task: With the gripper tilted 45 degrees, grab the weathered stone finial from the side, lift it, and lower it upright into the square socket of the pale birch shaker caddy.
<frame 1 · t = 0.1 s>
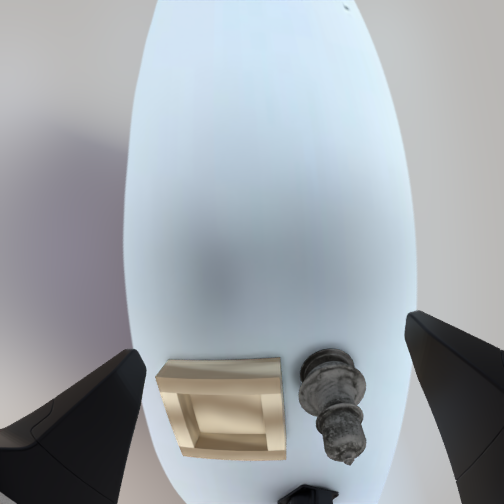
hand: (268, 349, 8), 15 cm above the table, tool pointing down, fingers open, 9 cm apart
weathered stone finial: (327, 371, 25), on the table
shaker caddy: (230, 404, 26), on the table
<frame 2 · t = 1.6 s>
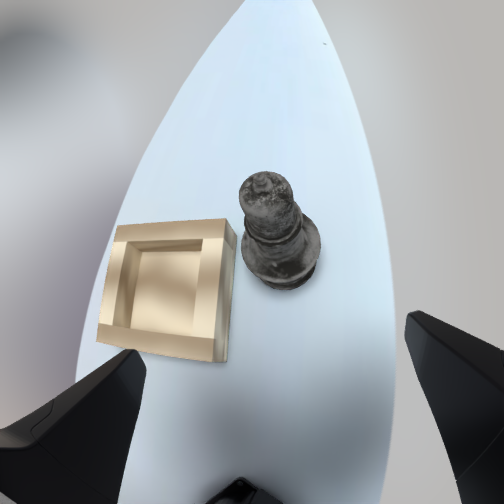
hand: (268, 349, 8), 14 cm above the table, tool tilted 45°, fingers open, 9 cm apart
weathered stone finial: (285, 260, 24), on the table
shaker caddy: (173, 294, 25), on the table
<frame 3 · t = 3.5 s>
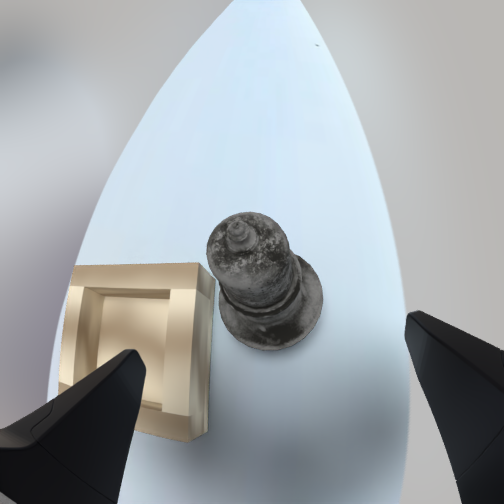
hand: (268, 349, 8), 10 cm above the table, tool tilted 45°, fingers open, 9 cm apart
weathered stone finial: (276, 310, 19), on the table
shaker caddy: (142, 349, 19), on the table
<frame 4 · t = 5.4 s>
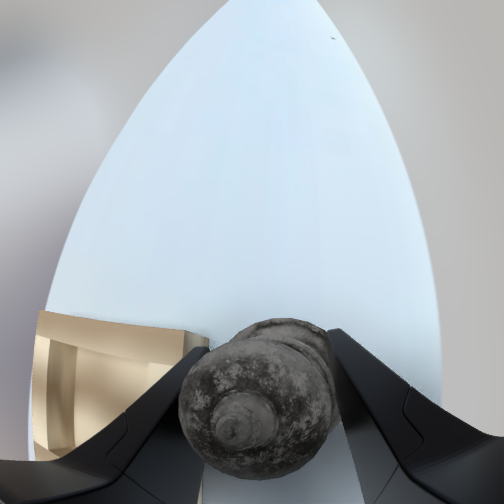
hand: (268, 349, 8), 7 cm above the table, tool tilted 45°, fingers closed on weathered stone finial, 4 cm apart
weathered stone finial: (286, 381, 14), on the table, touching gripper
shaker caddy: (123, 412, 14), on the table
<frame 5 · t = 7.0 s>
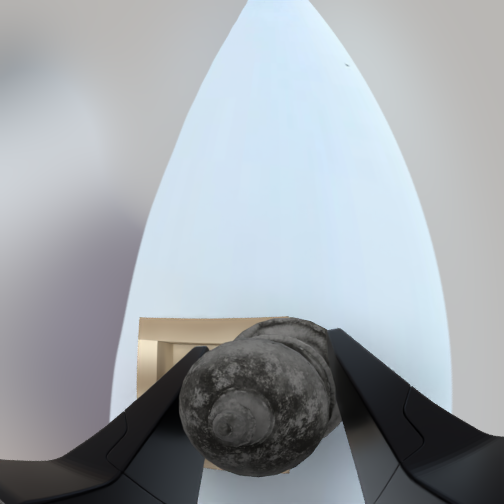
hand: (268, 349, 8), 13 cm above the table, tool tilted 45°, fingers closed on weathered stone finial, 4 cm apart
weathered stone finial: (289, 380, 14), point 6 cm above the table, touching gripper
shaker caddy: (220, 392, 20), on the table
when the fingers open (9 cm above the table, at t = 8.7 s): weathered stone finial drops 1 cm, resting on shaker caddy.
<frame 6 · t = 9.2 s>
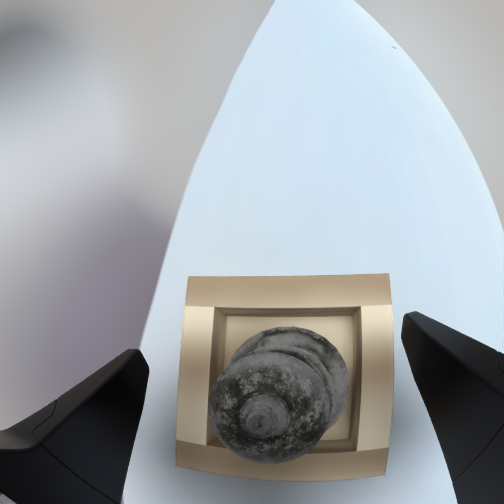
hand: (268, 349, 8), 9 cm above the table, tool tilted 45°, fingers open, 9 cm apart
weathered stone finial: (289, 382, 15), point 1 cm above the table, touching shaker caddy
shaker caddy: (288, 379, 16), on the table
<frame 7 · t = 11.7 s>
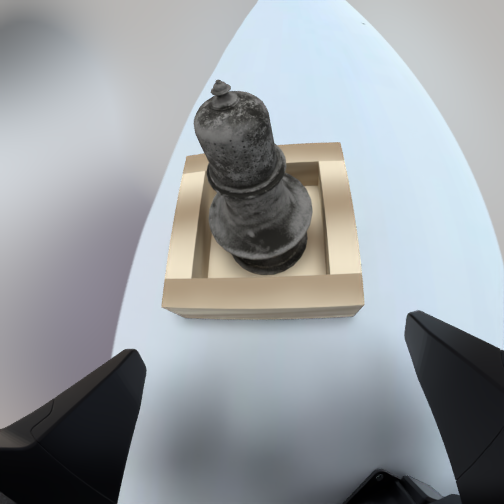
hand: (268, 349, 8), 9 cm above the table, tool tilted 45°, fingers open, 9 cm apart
weathered stone finial: (268, 238, 19), point 1 cm above the table, touching shaker caddy
shaker caddy: (267, 240, 20), on the table
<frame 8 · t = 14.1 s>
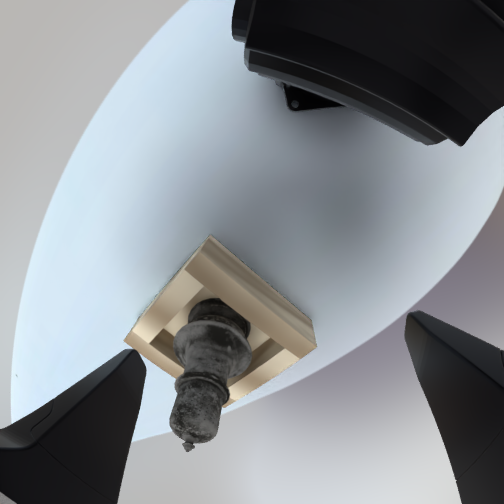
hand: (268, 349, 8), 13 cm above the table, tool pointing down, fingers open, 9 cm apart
weathered stone finial: (219, 323, 23), point 1 cm above the table, touching shaker caddy
shaker caddy: (220, 321, 24), on the table
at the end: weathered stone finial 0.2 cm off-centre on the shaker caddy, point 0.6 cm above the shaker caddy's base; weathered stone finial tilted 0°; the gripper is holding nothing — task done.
